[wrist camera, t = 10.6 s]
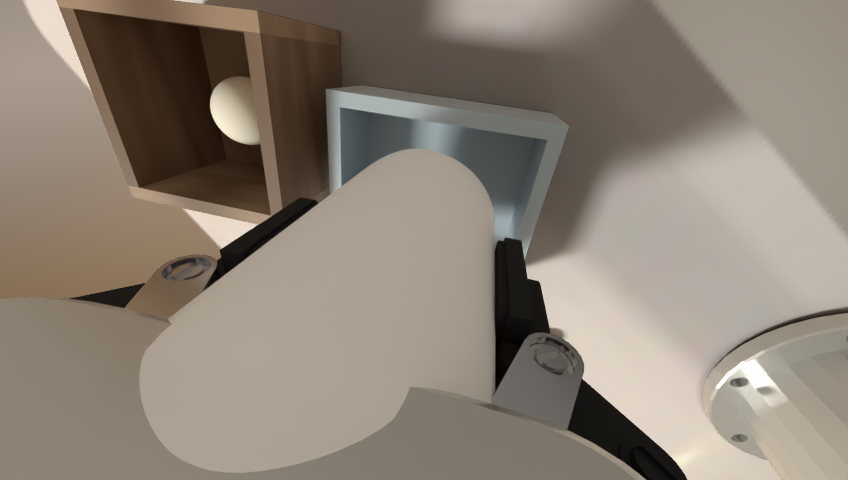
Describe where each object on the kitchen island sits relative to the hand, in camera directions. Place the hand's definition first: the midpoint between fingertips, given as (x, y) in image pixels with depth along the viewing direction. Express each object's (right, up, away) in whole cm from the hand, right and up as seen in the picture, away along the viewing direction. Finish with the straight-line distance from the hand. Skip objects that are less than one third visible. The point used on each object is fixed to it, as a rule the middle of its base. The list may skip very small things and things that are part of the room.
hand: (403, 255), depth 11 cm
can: (+1, +2, +3) cm, 3 cm away
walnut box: (-8, +8, +6) cm, 13 cm away
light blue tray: (+2, +3, +6) cm, 8 cm away
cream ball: (-8, +8, +6) cm, 12 cm away
